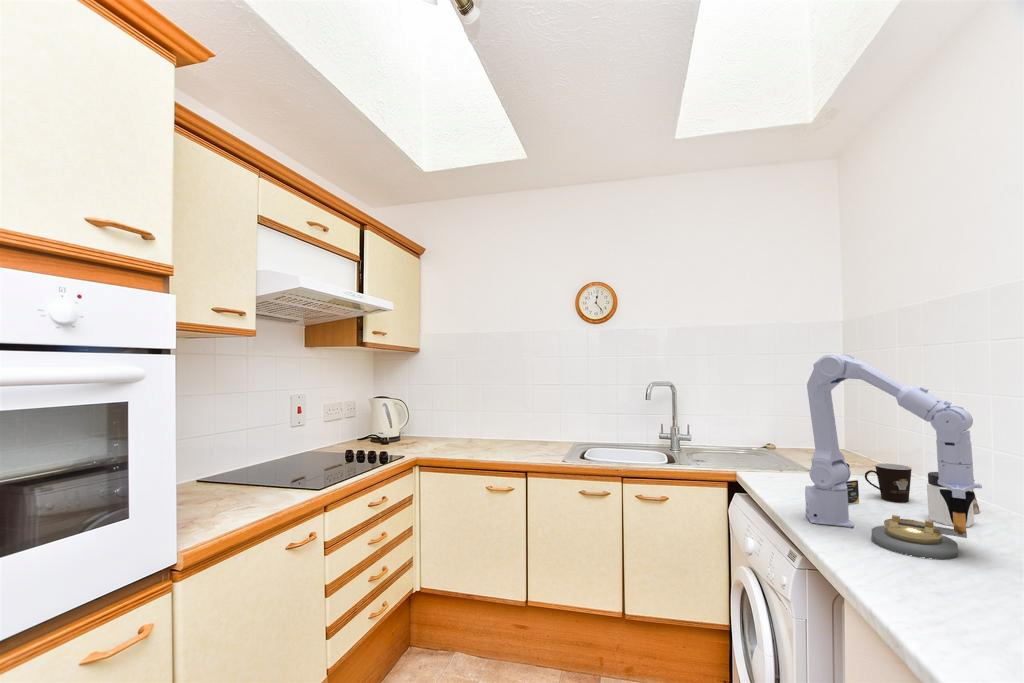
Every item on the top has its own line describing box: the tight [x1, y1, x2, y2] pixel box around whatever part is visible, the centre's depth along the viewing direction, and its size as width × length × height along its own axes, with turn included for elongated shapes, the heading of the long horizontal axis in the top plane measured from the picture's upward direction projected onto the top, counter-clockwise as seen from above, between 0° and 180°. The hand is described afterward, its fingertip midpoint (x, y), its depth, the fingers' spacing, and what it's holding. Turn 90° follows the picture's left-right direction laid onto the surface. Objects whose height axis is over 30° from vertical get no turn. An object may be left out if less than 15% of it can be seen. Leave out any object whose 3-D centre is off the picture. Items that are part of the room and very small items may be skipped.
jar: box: [926, 471, 975, 528], centre depth 123 cm, size 9×8×12 cm
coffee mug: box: [864, 463, 913, 504], centre depth 143 cm, size 12×9×10 cm
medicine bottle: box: [845, 461, 860, 505], centre depth 142 cm, size 7×7×12 cm
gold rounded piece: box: [883, 511, 968, 545], centre depth 106 cm, size 14×10×7 cm
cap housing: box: [870, 525, 959, 560], centre depth 107 cm, size 15×15×2 cm
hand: (958, 524), depth 104 cm, fingers closed
